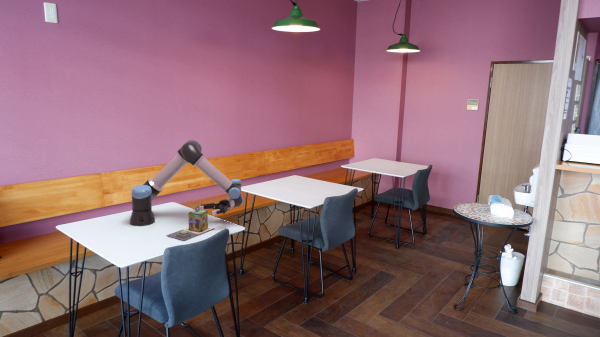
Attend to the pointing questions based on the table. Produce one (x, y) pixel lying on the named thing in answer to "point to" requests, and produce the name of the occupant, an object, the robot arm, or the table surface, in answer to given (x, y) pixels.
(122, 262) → the table surface
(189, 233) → the slate board
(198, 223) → the chalk box
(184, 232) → the button
